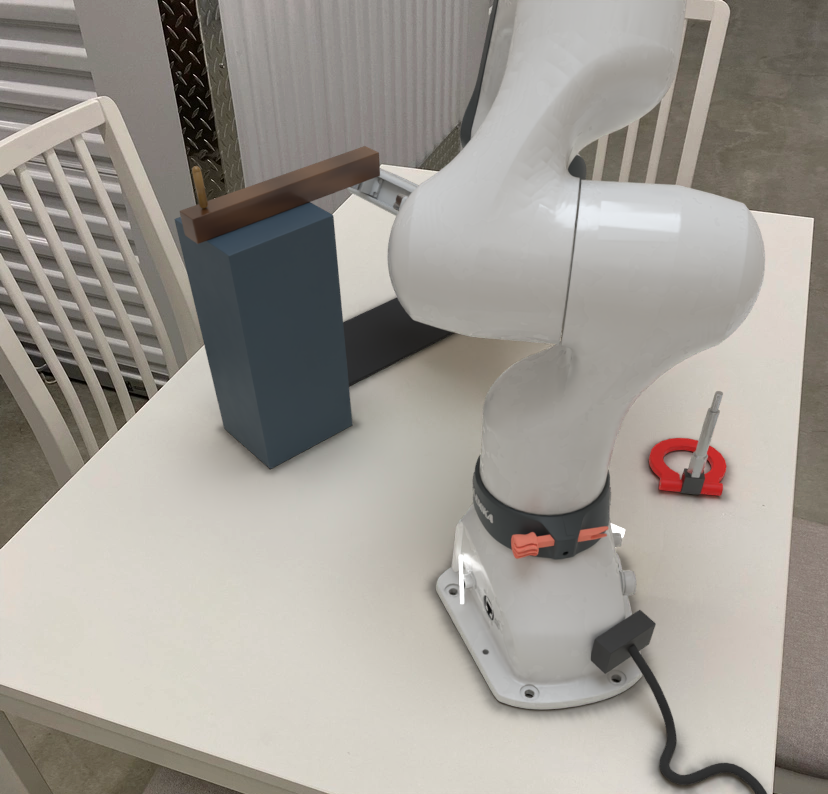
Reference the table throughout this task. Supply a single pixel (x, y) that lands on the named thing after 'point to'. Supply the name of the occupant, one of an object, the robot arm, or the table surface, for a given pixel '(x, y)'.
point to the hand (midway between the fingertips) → (370, 188)
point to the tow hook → (692, 460)
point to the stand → (274, 330)
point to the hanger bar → (275, 194)
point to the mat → (384, 339)
